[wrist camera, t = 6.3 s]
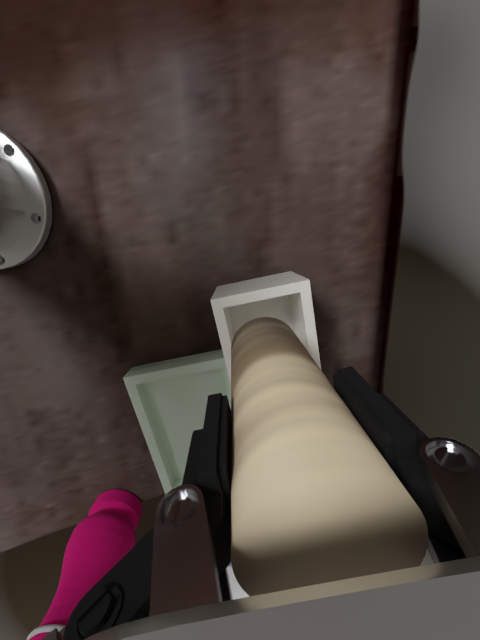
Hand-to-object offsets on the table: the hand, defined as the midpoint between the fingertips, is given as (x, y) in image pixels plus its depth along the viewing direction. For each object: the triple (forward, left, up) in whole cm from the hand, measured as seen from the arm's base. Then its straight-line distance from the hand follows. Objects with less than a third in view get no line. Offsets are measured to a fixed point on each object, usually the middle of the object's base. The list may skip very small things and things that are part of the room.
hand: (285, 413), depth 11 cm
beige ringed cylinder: (0, 0, -7) cm, 7 cm away
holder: (0, 0, -17) cm, 17 cm away
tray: (+11, -9, -17) cm, 22 cm away
